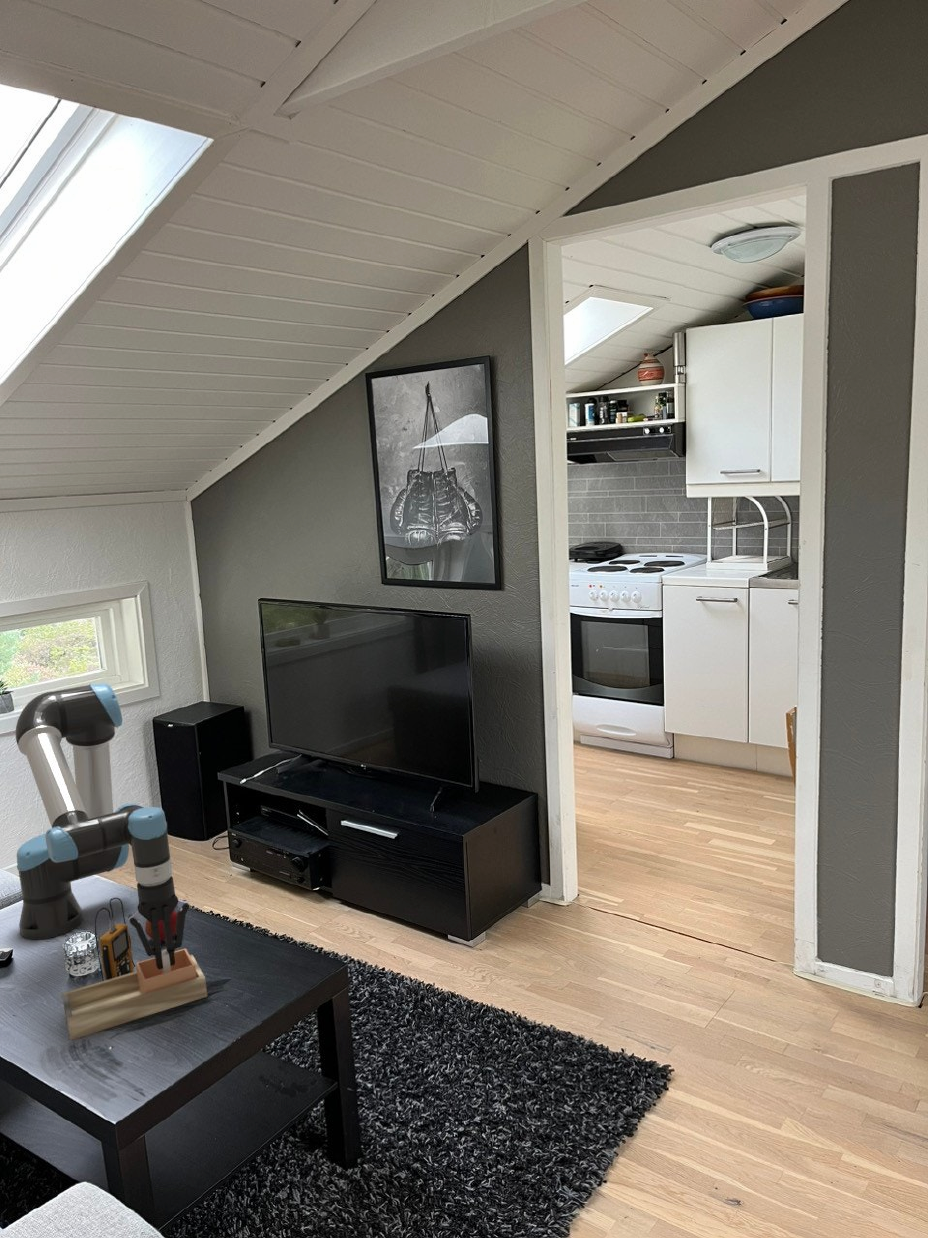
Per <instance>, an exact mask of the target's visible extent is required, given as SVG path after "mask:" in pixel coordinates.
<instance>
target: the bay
mask: <svg viewBox="0 0 928 1238" xmlns="http://www.w3.org/2000/svg"><path fill="white" fill-rule="evenodd" d="M189 955H190V957H191V958H192V960H193V962H194V964H195V968H196V976H197V978H194V979H191V980H188V981H184V982H181V983H178V984H175V985H171V986H168V987H165V988H162V989H159V990H155V991H152V992H149V993H146V994H141V992H140V989H139V984H138V977H137V970H136V971H134V972H132V973H129V974H126V975H122V976H119V977H115V978H112V979H109V980H105V979H104V981H98V982H96V983H93V984H90V985H89V984H88V985H86V986H82V987H78V988H75V989H72V990H69V991H65V992H63V993H61V999H62V1005H63V1013H64V1016H65V1021H66V1025H67V1029H68V1033H69V1037H70V1038H69V1039H70V1041H72V1040H75V1039H79V1038H82V1037H85V1036H88V1035H92V1034H94V1033H98V1032H101V1031H103V1030H107V1029H110V1028H113V1027H116V1026H120V1025H122V1024H126V1023H128V1022H129V1023H130V1022H132V1021H136V1020H139V1019H142V1018H145V1017H148V1016H150V1015H151V1016H152V1015H154V1014H156V1013H161V1012H164V1011H166V1010H170V1009H172V1008H176V1007H179V1006H182V1005H185V1004H188V1003H192V1002H194V1001H197V1000H198V1001H199V1000H201V999H203V998H207V997H208V991H207V990H208V989H207V982H206V976H205V974H204V972H203V971H202V969H201V967H200V965H199V964H198V962H197V960H196V958H195V957H194V955H193V954H189Z"/></svg>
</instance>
